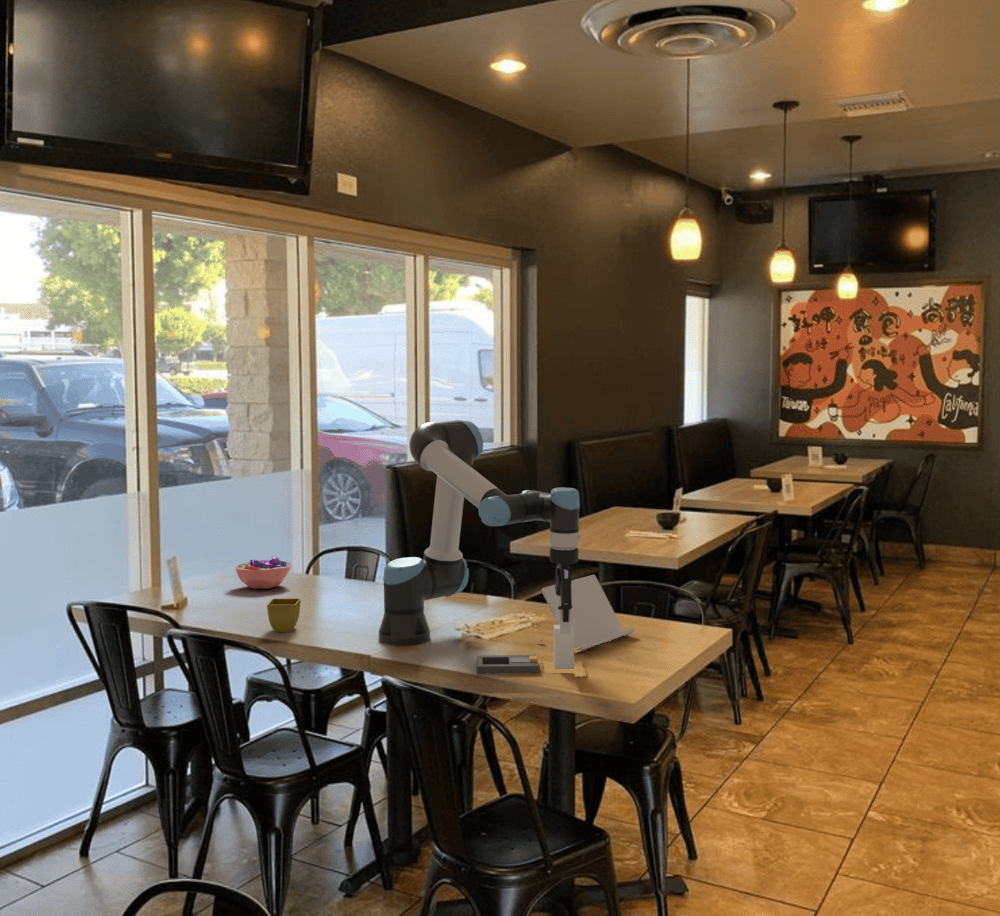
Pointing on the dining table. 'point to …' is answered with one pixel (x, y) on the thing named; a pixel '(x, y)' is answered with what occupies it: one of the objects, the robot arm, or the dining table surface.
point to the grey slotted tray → (507, 664)
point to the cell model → (263, 573)
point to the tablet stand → (589, 613)
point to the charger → (563, 649)
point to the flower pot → (283, 614)
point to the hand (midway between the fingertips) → (562, 626)
